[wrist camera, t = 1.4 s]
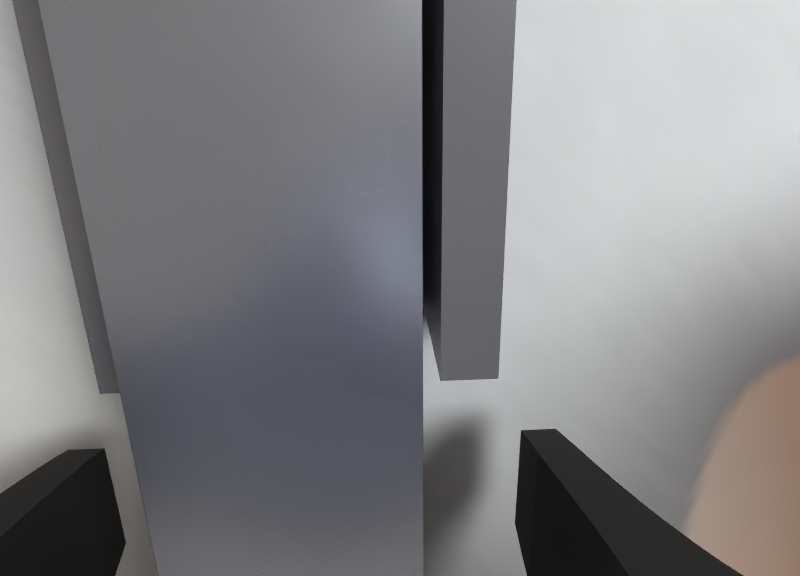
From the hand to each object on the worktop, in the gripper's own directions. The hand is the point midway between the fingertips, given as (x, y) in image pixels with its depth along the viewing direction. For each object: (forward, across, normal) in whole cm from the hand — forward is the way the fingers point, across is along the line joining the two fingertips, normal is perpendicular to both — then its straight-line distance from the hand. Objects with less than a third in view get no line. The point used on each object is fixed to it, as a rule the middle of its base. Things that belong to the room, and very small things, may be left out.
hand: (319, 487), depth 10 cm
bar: (+2, 0, -2) cm, 3 cm away
